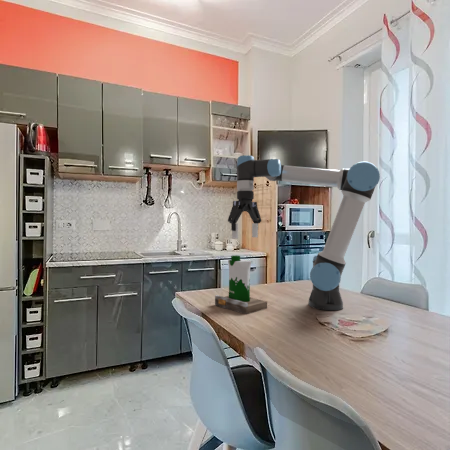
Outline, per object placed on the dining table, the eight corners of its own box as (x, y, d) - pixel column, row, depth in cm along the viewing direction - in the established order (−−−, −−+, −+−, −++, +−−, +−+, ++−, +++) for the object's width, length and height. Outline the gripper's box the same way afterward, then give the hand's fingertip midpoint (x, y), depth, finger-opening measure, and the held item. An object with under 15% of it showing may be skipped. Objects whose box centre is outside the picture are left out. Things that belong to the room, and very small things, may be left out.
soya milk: (225, 299, 148) (226, 255, 148) (242, 297, 153) (243, 254, 152) (235, 303, 141) (236, 257, 140) (253, 301, 145) (253, 256, 145)
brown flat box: (267, 308, 145) (267, 298, 145) (244, 314, 135) (244, 303, 135) (236, 300, 159) (236, 291, 159) (214, 305, 149) (214, 295, 149)
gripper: (232, 188, 136) (232, 239, 137) (268, 191, 154) (268, 237, 154) (219, 189, 142) (219, 238, 142) (256, 192, 159) (256, 236, 160)
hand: (245, 237), depth 148 cm, fingers open, 13 cm apart
